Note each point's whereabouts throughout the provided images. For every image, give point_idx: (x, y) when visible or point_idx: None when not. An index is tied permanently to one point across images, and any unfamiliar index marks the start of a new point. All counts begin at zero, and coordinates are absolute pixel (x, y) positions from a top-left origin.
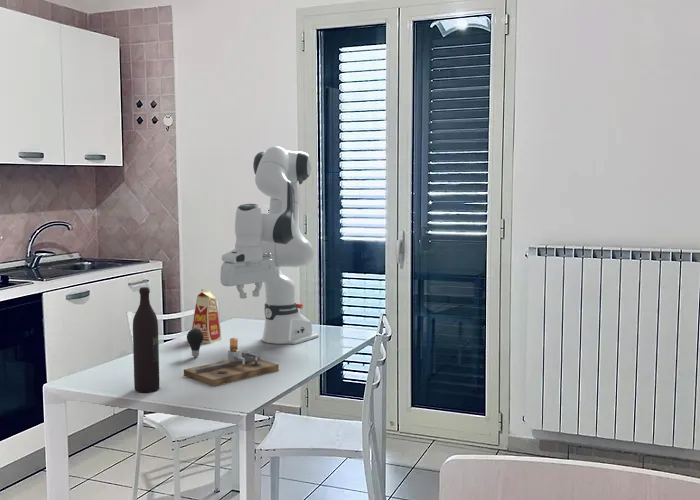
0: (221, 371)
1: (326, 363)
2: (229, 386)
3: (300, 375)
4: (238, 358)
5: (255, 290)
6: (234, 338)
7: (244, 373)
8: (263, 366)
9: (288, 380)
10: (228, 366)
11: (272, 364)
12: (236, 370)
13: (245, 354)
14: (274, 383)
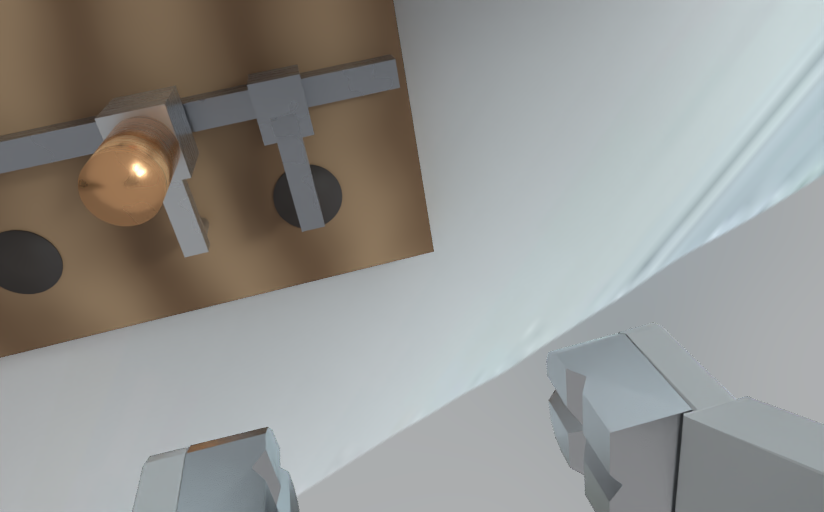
0: (19, 241)
1: (704, 233)
2: (45, 381)
3: (465, 360)
4: (167, 210)
5: (687, 456)
6: (134, 181)
7: (170, 311)
8: (332, 252)
9: (371, 405)
10: None
11: (402, 236)
12: (133, 256)
13: (261, 133)
14: (289, 420)
